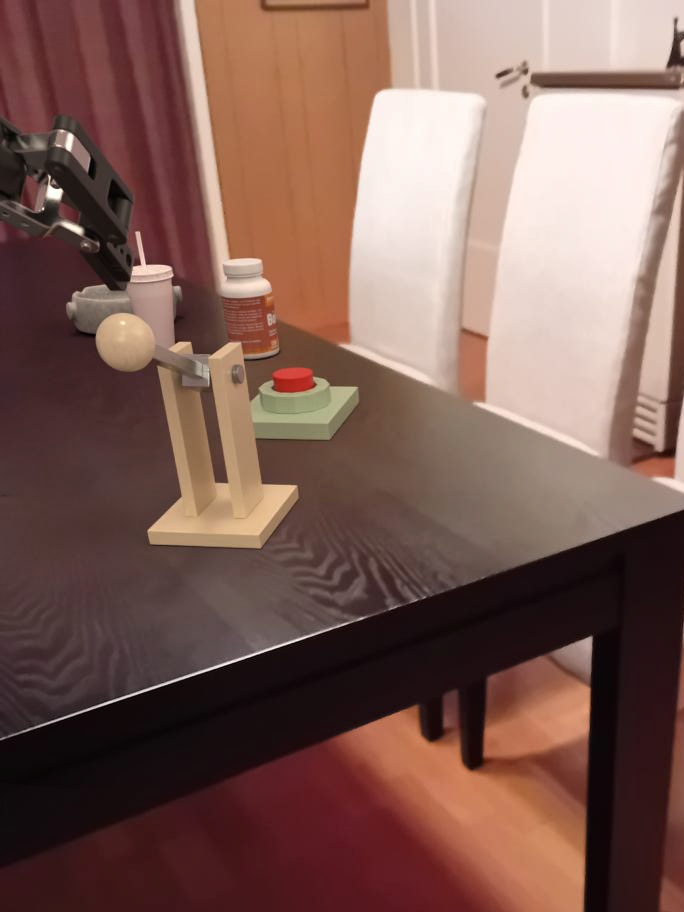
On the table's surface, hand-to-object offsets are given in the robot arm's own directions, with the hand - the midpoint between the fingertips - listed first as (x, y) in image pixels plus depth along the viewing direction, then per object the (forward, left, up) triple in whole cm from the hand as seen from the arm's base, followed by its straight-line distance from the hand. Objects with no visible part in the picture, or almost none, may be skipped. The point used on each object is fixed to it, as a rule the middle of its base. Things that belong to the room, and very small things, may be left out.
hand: (49, 276), depth 55 cm
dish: (+36, +83, -23) cm, 93 cm away
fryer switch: (+13, +12, -22) cm, 29 cm away
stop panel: (+31, +30, -22) cm, 49 cm away
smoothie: (+34, +68, -23) cm, 79 cm away
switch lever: (+9, +7, -9) cm, 15 cm away
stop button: (+31, +30, -19) cm, 47 cm away
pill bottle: (+41, +56, -23) cm, 73 cm away
